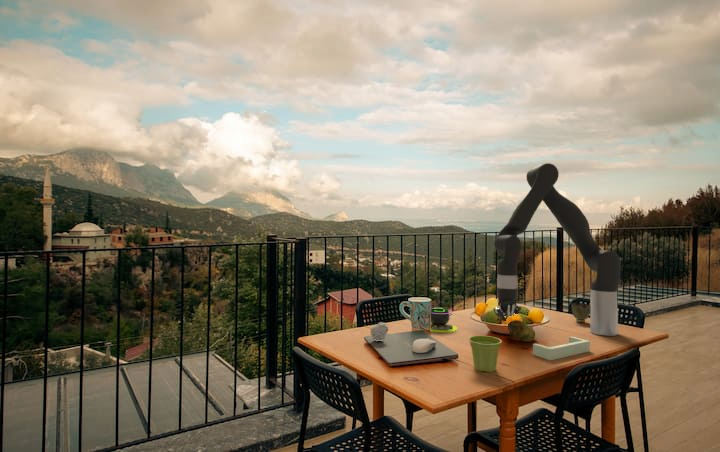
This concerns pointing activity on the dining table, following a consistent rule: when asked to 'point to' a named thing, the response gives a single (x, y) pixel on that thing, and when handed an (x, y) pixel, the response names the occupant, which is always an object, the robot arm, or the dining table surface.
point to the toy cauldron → (441, 320)
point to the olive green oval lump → (521, 331)
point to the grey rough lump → (379, 331)
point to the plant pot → (485, 352)
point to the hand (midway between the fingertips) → (507, 331)
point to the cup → (580, 312)
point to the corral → (562, 349)
